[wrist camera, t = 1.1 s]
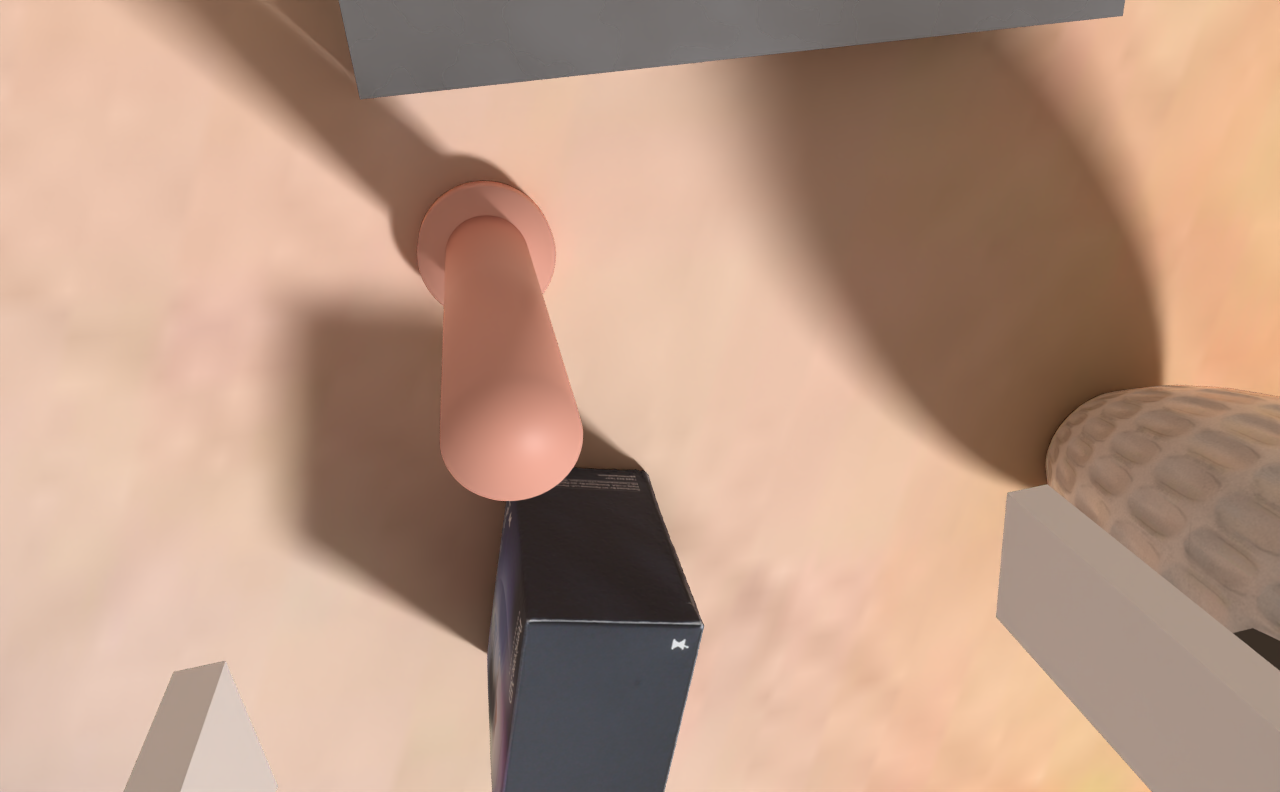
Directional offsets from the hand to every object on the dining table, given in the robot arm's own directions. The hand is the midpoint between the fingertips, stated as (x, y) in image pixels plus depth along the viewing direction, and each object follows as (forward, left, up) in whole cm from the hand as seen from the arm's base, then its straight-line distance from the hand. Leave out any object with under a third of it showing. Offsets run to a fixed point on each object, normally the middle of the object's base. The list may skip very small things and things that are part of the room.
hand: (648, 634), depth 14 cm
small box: (-1, -13, -21) cm, 25 cm away
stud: (-2, +2, -21) cm, 21 cm away
